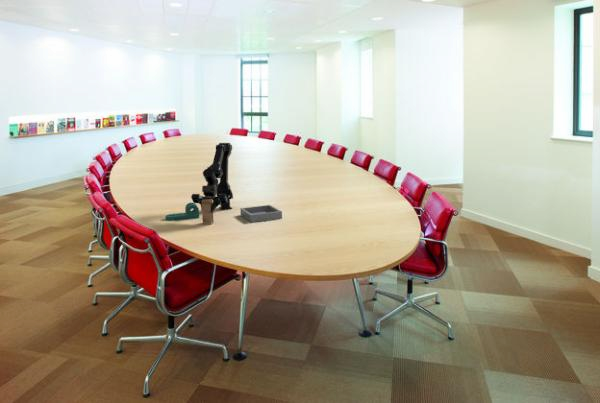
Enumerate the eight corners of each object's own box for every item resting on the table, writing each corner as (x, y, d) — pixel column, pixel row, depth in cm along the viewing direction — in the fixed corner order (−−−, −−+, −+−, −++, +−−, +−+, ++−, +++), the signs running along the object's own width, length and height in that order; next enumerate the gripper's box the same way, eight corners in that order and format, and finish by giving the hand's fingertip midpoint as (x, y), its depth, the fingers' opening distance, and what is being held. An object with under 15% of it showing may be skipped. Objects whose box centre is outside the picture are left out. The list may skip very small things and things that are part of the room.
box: (240, 215, 274) (240, 208, 273) (270, 211, 282) (269, 204, 281) (251, 222, 258) (250, 215, 258) (282, 218, 266) (281, 211, 265)
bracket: (197, 215, 276) (196, 202, 274) (199, 218, 270) (198, 204, 268) (165, 218, 270) (164, 204, 269) (166, 221, 264) (165, 207, 262)
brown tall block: (205, 222, 260) (204, 198, 257) (213, 222, 260) (212, 198, 257) (202, 224, 256) (201, 200, 253) (211, 224, 255) (209, 200, 252)
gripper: (191, 179, 257) (185, 203, 249) (225, 179, 255) (220, 204, 247) (196, 190, 267) (191, 214, 259) (229, 190, 265) (225, 215, 256)
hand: (206, 212), depth 255 cm, fingers open, 5 cm apart
